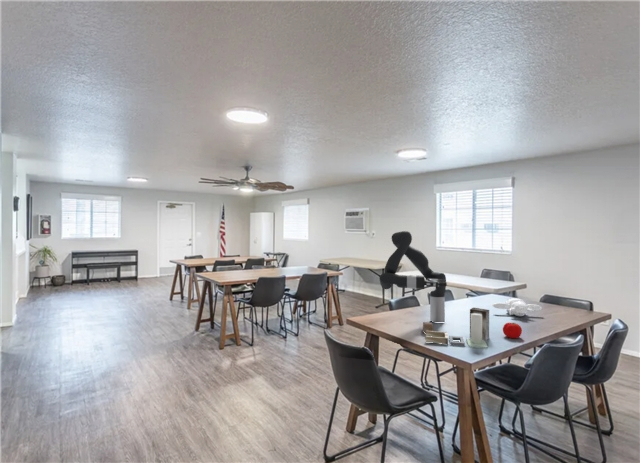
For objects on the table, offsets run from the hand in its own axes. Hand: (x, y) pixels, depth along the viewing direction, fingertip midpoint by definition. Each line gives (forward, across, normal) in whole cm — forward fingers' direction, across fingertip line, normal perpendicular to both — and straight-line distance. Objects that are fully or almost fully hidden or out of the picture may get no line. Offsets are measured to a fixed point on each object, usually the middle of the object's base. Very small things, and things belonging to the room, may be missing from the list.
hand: (446, 283), depth 191 cm
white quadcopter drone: (+51, +82, +32) cm, 102 cm away
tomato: (+36, +19, +32) cm, 52 cm away
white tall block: (+15, 0, +31) cm, 35 cm away
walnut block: (-10, +14, +32) cm, 36 cm away
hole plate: (+5, 0, +32) cm, 32 cm away
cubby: (-6, 0, +32) cm, 33 cm away
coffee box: (+18, +13, +32) cm, 39 cm away
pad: (+15, 0, +32) cm, 35 cm away
